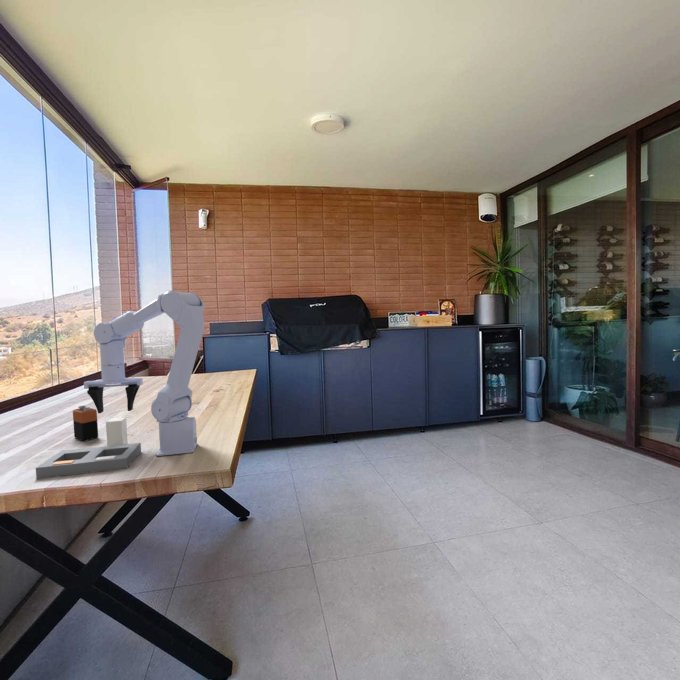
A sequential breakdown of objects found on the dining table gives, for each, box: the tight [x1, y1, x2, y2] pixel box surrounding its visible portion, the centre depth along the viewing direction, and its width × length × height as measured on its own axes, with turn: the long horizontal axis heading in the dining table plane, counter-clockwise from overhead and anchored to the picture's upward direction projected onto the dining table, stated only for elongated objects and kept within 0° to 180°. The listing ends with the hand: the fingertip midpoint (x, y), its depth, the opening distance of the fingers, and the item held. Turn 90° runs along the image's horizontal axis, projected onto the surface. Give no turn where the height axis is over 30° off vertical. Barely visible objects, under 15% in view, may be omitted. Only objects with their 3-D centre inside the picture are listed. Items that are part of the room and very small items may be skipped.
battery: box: [72, 405, 99, 442], centre depth 115 cm, size 4×7×10 cm, turn 57°
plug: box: [105, 416, 129, 446], centre depth 105 cm, size 4×4×8 cm
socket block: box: [35, 442, 142, 479], centre depth 92 cm, size 19×12×3 cm, turn 104°
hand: (115, 411), depth 105 cm, fingers open, 7 cm apart
